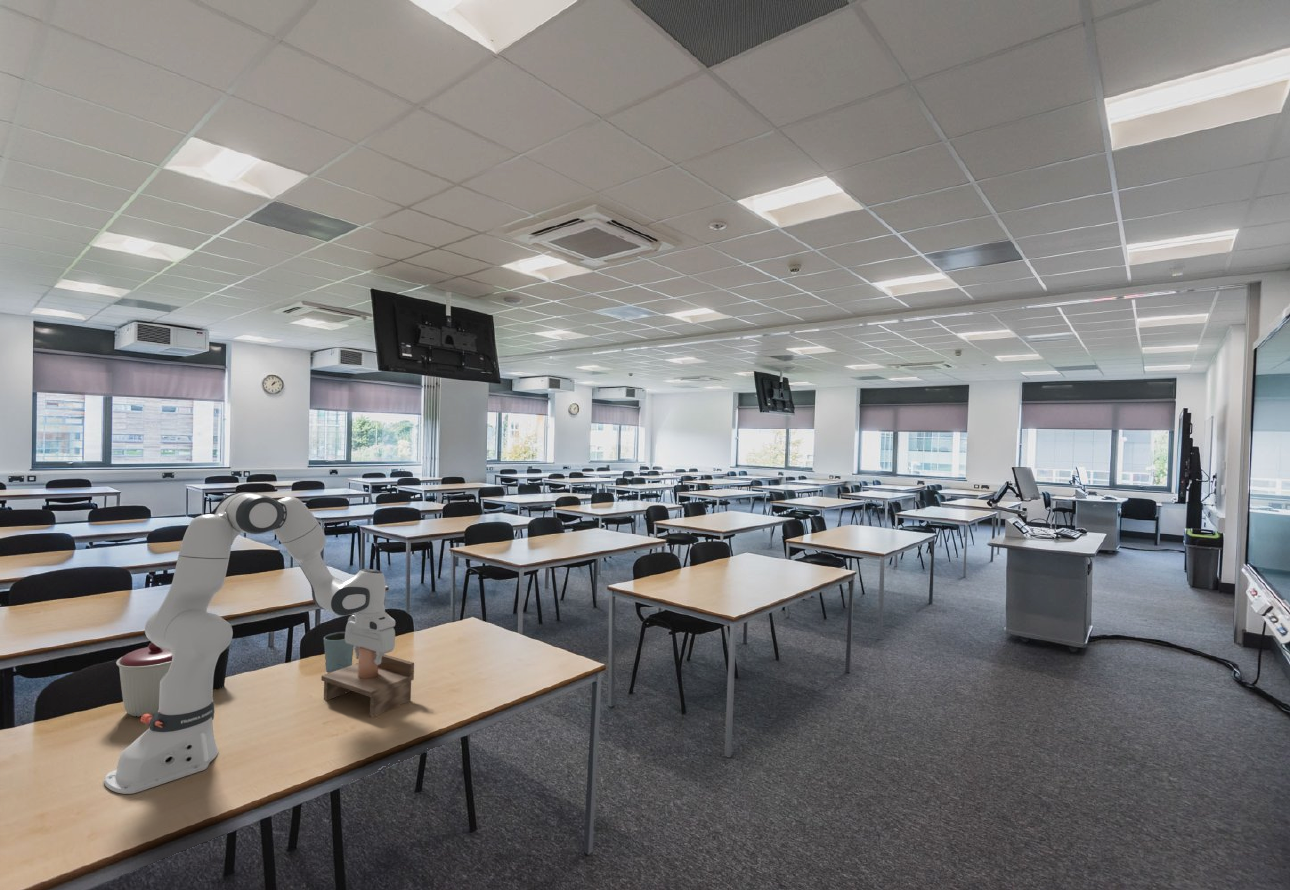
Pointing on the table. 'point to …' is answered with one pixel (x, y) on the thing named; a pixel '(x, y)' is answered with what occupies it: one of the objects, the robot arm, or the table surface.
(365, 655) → the pink pillar candle
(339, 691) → the shelf
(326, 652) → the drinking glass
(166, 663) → the canister
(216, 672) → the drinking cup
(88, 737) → the table surface
